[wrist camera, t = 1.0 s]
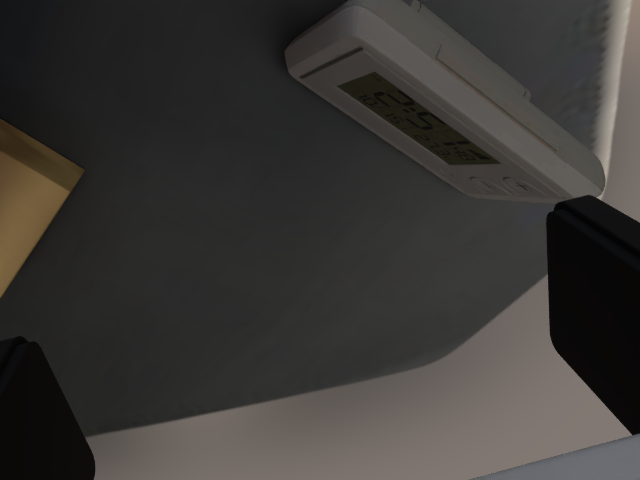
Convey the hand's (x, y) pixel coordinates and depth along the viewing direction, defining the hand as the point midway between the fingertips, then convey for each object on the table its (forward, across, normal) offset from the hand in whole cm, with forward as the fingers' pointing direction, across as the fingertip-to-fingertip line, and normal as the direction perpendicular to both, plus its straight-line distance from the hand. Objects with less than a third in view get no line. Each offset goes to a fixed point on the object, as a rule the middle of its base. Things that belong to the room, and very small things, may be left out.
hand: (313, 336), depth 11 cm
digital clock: (+27, -9, +2) cm, 28 cm away
